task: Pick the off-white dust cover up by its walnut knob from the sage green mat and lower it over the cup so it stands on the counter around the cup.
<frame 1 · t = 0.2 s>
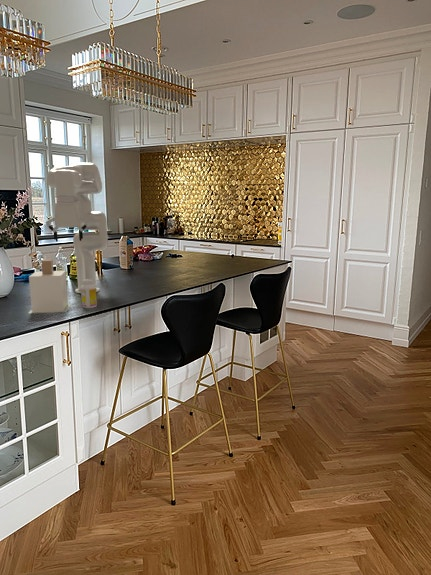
hand: (68, 241, 189), 31 cm above the table, tool pointing down, fingers open, 9 cm apart
dust cover: (50, 308, 200), resting on mat
mat: (50, 309, 200), on the table
supplement bottle: (89, 307, 204), on the table
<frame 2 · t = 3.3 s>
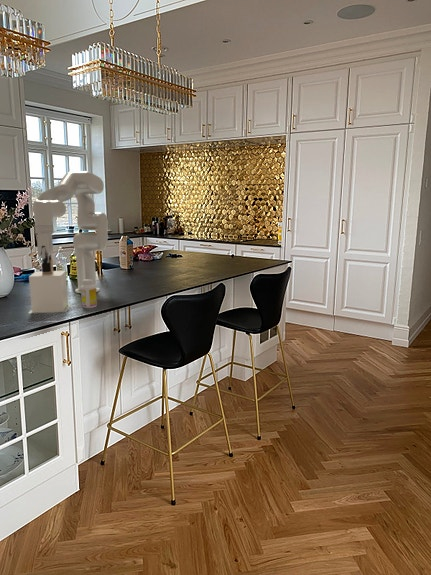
hand: (47, 270, 196), 18 cm above the table, tool pointing down, fingers closed on dust cover, 4 cm apart
dust cover: (50, 308, 200), resting on mat, touching gripper
everything else where it was.
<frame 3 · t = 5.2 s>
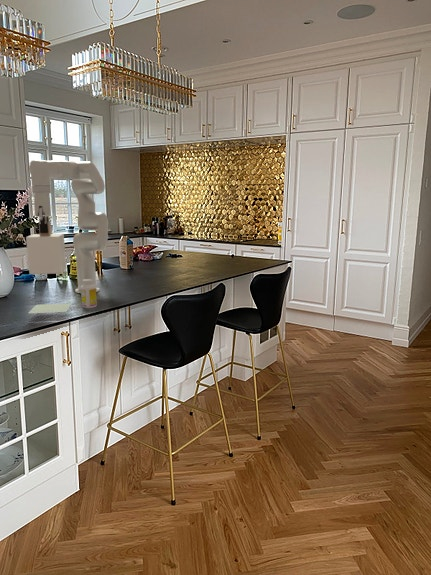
hand: (45, 232, 193), 35 cm above the table, tool pointing down, fingers closed on dust cover, 4 cm apart
dust cover: (48, 271, 197), point 17 cm above the table, touching gripper
everything else where it was.
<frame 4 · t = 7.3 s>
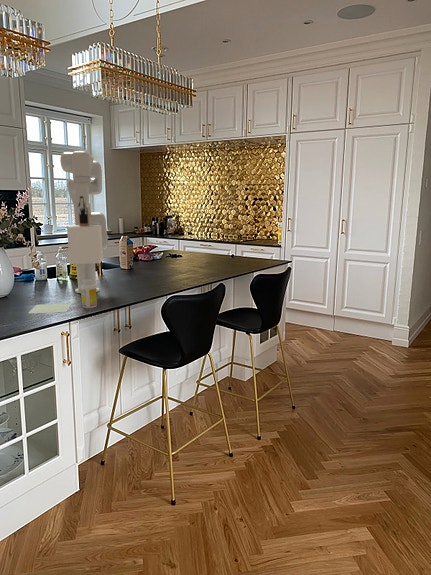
hand: (84, 222, 196), 39 cm above the table, tool pointing down, fingers closed on dust cover, 4 cm apart
dust cover: (86, 261, 199), point 21 cm above the table, touching gripper
everything else where it was.
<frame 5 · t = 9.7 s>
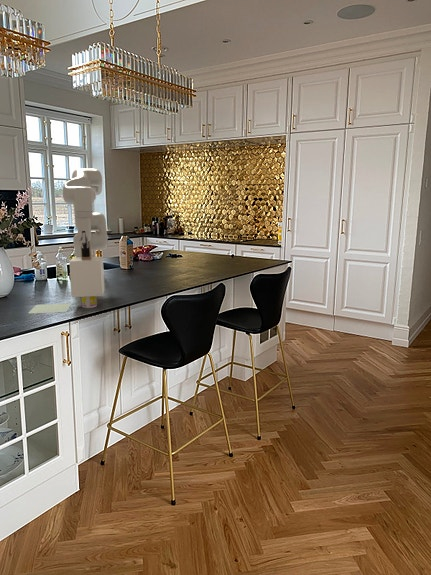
hand: (86, 255, 199), 24 cm above the table, tool pointing down, fingers closed on dust cover, 4 cm apart
dust cover: (88, 293, 202), point 6 cm above the table, touching gripper
everything else where it was.
when the fingers open (19 cm above the table, at t = 11.5 s): dust cover drops 2 cm, on the table.
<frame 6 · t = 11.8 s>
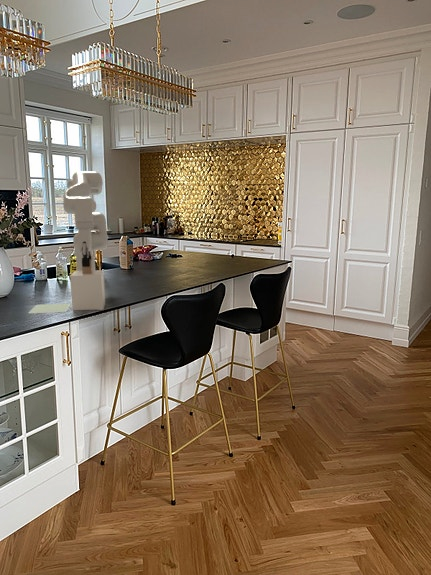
hand: (87, 265, 200), 20 cm above the table, tool pointing down, fingers open, 6 cm apart
dust cover: (89, 306, 204), on the table
everything else where it was.
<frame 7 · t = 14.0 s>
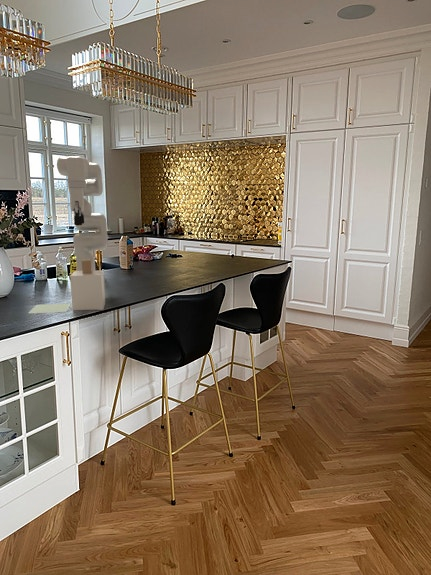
hand: (79, 224, 199), 38 cm above the table, tool pointing down, fingers open, 9 cm apart
nothing on the table moved.
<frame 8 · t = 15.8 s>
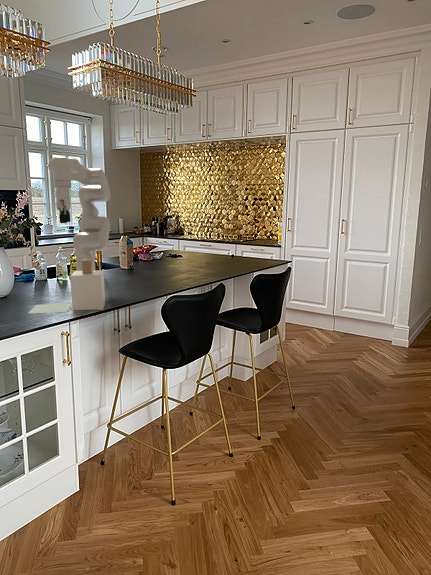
hand: (65, 222, 205), 38 cm above the table, tool pointing down, fingers open, 9 cm apart
nothing on the table moved.
at the end: dust cover 0.2 cm from the supplement bottle (horizontally); dust cover on the table; supplement bottle tilted 0° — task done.
